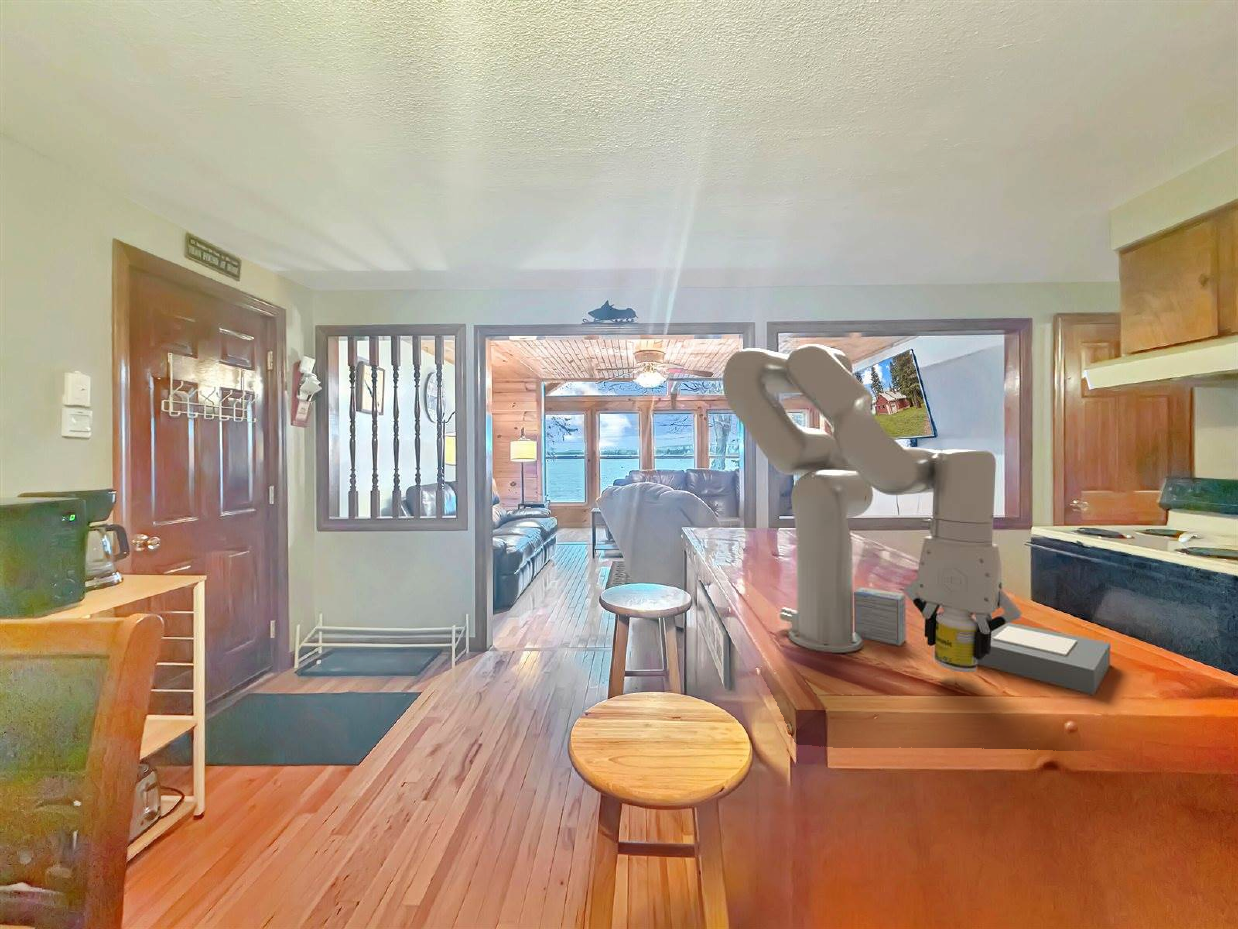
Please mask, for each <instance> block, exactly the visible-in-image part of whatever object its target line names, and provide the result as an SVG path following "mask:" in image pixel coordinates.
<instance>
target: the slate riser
mask: <svg viewBox="0 0 1238 929" xmlns="http://www.w3.org/2000/svg"><path fill="white" fill-rule="evenodd" d="M978 665H980V666H984V667H988V668H990V669H994V670H995V669H996V670H998V671H1002V672H1007V673H1010V674H1013V675H1017V676H1021V677H1025V678H1029V679H1032V680H1036V681H1040V682H1044V683H1048V684H1052V685H1055V686H1059V687H1063V688H1066V689H1071V690H1075V691H1078V692H1083V693H1086V694H1089V695H1092V696H1094V695H1096V692H1097V691H1098V689H1099V686H1100V685H1101V683H1102V680H1103V679H1104V678H1105V675H1106V674H1107V671H1108V669H1109V668H1110V666H1111V642H1108V641H1102V640H1098V639H1092V638H1087V637H1082V636H1077V635H1072V634H1067V633H1062V632H1057V631H1053V630H1047V629H1043V628H1037V627H1034V626H1028V625H1023V624H1017V623H1013V622H1009V623H1007V624H1005V625H1003V626H1001V627H999V628H997V629H995V630H993V631H992V632H991V650H990V653H989V654H986V655H985V656H984V657H983V658H982V659H981V660H978Z"/></svg>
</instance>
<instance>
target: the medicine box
mask: <svg viewBox="0 0 1238 929" xmlns="http://www.w3.org/2000/svg"><path fill="white" fill-rule="evenodd" d="M906 619H907V616H906V594H905V593H900V592H894V591H888V590H883V589H882V590H880V589H877V588H876V589H874V588H868V587H860V588H857V589H856V590H855V591H854V592H853V631H854V632H856V633H857V634H859V635H860V636H861V638H862V639H867V640H871V641H876V642H881V643H885V644H890V645H894V646H898V647H901V646H902V645H903V643H904V642H905V641H906V639H907V623H906V622H907V620H906Z"/></svg>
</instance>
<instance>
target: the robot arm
mask: <svg viewBox="0 0 1238 929" xmlns="http://www.w3.org/2000/svg"><path fill="white" fill-rule="evenodd" d="M723 369H724V370H723V376H722V388H723V389H722V390H723V394H724V397H725V400H726V402H727V404H728V407H729V408H730V409H731V410H732V412H733V414H734V415H735V416H736V418H737V419H738V420H739V422H741V424H742V425H743V426H744V428H745V429H746V431H747V432H748V433H749V435H750V437H751V438H752V439H753V441H754V442H755V444H756V445H757V446H758V448H759V449H760V450H761V452H762V454H764V456H765V457H766V459H767V460H768V462H769V463H770V464H771V466H772V467H773V468H774V469H775V471H777V472H778V473H780V474H783V475H787V476H801V477H799V478H798V479H797V481H796V482H795V483H794V485H793V487H792V491H791V495H790V496H791V500H790V501H791V508H792V513H793V518H794V525H795V534H796V535H795V536H796V537H795V538H796V596H797V597H796V605H797V606H796V610H794V609H793V608H791V607H790V608H789V607H785V606H784V607H782V608H781V611H780V614H779V618H780V620H782V621H786V622H790V623H791V627H790V628H789V629H788V638H789V640H790V641H792V642H793V643H794V644H796V645H798V646H801V647H803V648H805V649H809V650H813V651H817V652H825V653H836V654H838V653H839V654H842V653H844V654H845V653H852V652H856V651H859V650H860V649H861V648H862V647H863V638H861V636H860V635H859V634H857V633H856V632H854V592H853V591H854V589H853V588H854V587H853V583H854V582H853V578H854V577H853V574H854V573H853V565H854V564H853V562H854V560H853V540H852V536H851V530H850V528H849V527H850V526H849V523H848V519H850V518H855V517H858V516H860V515H862V514H864V513H865V512H867V510H868V509H869V508H870V506H871V505H872V502H873V498H874V497H873V496H874V492H873V489H874V490H876V491H878V492H879V493H882V494H885V495H887V496H902V495H915V494H923V493H925V494H926V493H932V517H930V519H922V521H921V527H922V528H923V529H927V530H929V534H930V535H928V536H925V537H924V539H923V540H924V541H923V543H922V547H921V550H920V556H919V562H918V567H917V568H918V569H917V574H916V575H917V577H916V578H915V579H914V580H913V581H911V582H910V583H909V584H907V586H905V587H904V588H903V589H902V592H903V594H904V595H905V596H906V597H907V598H908V599H909V600H910V601H912V603H913V604H914V606H915V607H916V608H917V609H918V610H919V612H920V613H921V616H922V618H923V619H924V637H925V638H926V640H927V642H926V644H927V645H928V646H931V647H932V646H935V636H936V617H937V615H938V614H939V610H940V608H941V607H942V606H944V607H949V608H953V609H957V610H962V611H966V612H970V613H974V614H973V615H974V618H975V619H976V620H977V623H978V626H979V627H978V631H977V632H975V645H974V658H976V659H978V660H981V659H982V658H983V657H984V656H985V655H986V654H989V653H990V650H991V632H992V631H993V630H995V629H997V628H999V627H1001V626H1003V625H1005V624H1007V623H1012V622H1013V621H1015V620H1017V619H1019V618H1021V617H1022V615H1023V613H1022V611H1021V610H1020V609H1019V608H1018V607H1017V606H1016V604H1014V602H1013V601H1012V599H1010V597H1009V596H1008V595H1007V594H1006V593H1005V592H1004V591H1003V575H1002V574H1003V573H1002V565H1001V564H1002V563H1001V562H1002V561H1001V557H1000V551H999V547H998V546H999V545H998V544H996V543H993V534H994V511H995V510H994V509H995V495H996V494H995V493H996V492H995V490H996V467H997V462H996V457H995V455H994V454H993V453H992V452H990V451H987V450H982V449H981V450H980V449H946V450H945V449H944V450H942V451H941V450H934V449H929V448H921V447H909V446H901V444H899V443H898V442H897V441H896V440H895V439H894V438H893V437H892V436H891V435H890V434H889V433H888V432H887V431H886V430H885V429H884V427H883V426H882V425H881V424H880V423H879V422H878V421H877V419H876V417H875V416H874V414H873V411H872V404H873V399H874V398H873V394H872V393H871V391H870V390H869V389H868V388H867V387H865V386H864V385H863V383H861V382H860V381H859V379H857V378H856V376H854V375H853V365H852V362H851V360H850V359H849V357H848V356H847V355H846V354H845V353H843V351H841V350H838V349H834V348H831V347H827V346H825V345H820V344H814V343H810V344H809V343H808V344H804V345H801V346H798V347H797V348H795V349H794V350H792V351H791V352H790V354H786V353H785V354H783V353H780V352H775V351H771V350H768V349H762V348H755V347H749V348H744V349H741V350H737V351H736V352H735V353H733V354H732V355H731V356H730V357H729V359H727V362H726V364H725V366H724V368H723ZM771 394H778V395H802V396H803V398H805V399H806V400H807V402H808V403H809V404H810V405H811V406H812V407H813V408H814V409H815V410H816V411H817V412H818V414H819V415H820V416H821V417H822V418H823V419H824V421H825V422H827V423H828V425H829V426H830V429H831V433H832V435H830V434H829V433H827V432H826V431H824V430H821V429H818V428H812V427H804V426H801V425H800V424H799V423H798V422H797V421H796V420H795V419H794V418H793V417H792V416H791V415H790V413H789V412H788V411H787V410H786V408H785V407H784V405H782V403H780V402H779V401H778V399H777V398H775V397H774V396H772V395H771ZM1000 608H1002V610H1003V611H1004V613H1002V614H999V615H997V616H996V617H994V618H993V615H992V614H993V613H994V612H996V610H998V609H1000Z"/></svg>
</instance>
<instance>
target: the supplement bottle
mask: <svg viewBox="0 0 1238 929" xmlns="http://www.w3.org/2000/svg"><path fill="white" fill-rule="evenodd" d="M941 609H942V611H940V612H938V613H937V614H938V615H937V617H936V636H935V645H934V659H935V660H934V661H935V662H936V663H937V664H938V665H940V666H941V667H943V668H945V669H949V670H951V671H955V672H962V673H973V672H976V671H977V669H978V665H979V664H978V659H976V658H974V645H975V632H977V631H978V627H979V626H978V623H977V620H976V617H975V616H973V615H975V614H974V613H970V612H966V611H962V610H957V609H953V608H949V607H944V606H941Z"/></svg>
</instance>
